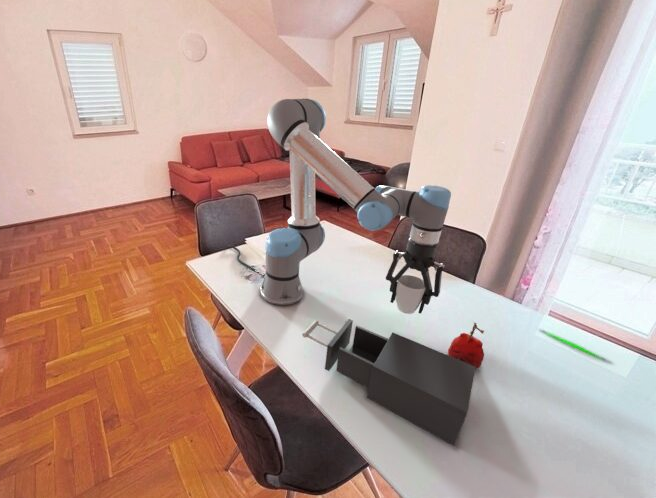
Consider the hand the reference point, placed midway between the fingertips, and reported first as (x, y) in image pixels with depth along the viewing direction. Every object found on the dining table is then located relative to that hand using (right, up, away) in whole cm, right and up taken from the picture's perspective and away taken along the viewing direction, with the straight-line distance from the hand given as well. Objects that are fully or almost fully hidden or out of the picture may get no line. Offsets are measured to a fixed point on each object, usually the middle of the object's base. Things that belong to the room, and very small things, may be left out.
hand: (406, 305), depth 98 cm
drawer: (-23, -11, -16) cm, 30 cm away
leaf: (+43, -9, -9) cm, 45 cm away
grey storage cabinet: (-10, -16, -25) cm, 31 cm away
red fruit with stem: (+7, -12, -15) cm, 21 cm away
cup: (0, -1, +1) cm, 1 cm away
